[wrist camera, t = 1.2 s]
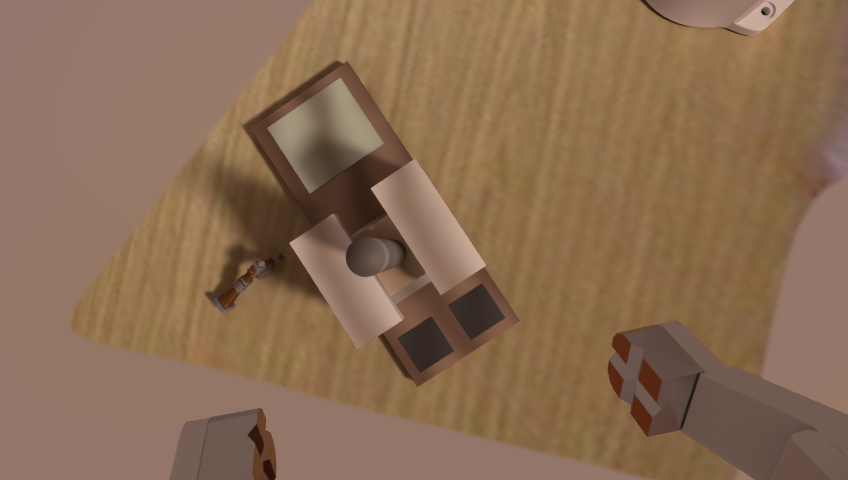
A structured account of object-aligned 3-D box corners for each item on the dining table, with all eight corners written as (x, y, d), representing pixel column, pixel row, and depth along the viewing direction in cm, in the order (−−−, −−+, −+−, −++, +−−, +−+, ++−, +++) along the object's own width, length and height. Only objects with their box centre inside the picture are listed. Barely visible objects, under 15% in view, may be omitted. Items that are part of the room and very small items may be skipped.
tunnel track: (350, 66, 51) (318, 12, 39) (517, 318, 50) (537, 341, 38) (256, 131, 52) (195, 98, 40) (418, 382, 51) (406, 425, 39)
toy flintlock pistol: (292, 258, 51) (263, 271, 47) (251, 299, 54) (220, 315, 50) (281, 244, 51) (251, 256, 47) (241, 286, 55) (210, 301, 50)
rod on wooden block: (408, 198, 49) (377, 169, 30) (453, 266, 49) (450, 281, 30) (349, 237, 49) (282, 233, 30) (393, 305, 49) (353, 344, 30)
